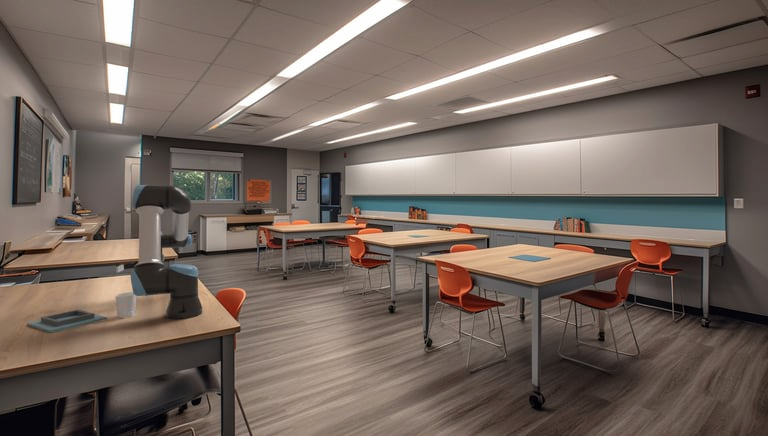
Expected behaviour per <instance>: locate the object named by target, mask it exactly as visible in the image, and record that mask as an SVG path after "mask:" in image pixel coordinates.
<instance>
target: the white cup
mask: <svg viewBox="0 0 768 436" xmlns="http://www.w3.org/2000/svg"><path fill="white" fill-rule="evenodd" d="M136 305H137V296H136V295H134V293H133V291H132V292H122V293H117V294H115V307H116V317H117V318H118V319H124V318H125V319H126V318H130V317H134V316H135V315H136V308H137V307H136Z"/></svg>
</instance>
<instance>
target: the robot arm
mask: <svg viewBox="0 0 768 436" xmlns="http://www.w3.org/2000/svg"><path fill="white" fill-rule="evenodd" d="M131 204H132V205H131V206H132V209H134V210H135V212H136V213H137V214H138V215H139V226H138V227H139V229H138V261H129V262H124V263H118V264H116V265H115V266H116V267H115V269H116V270H115V271H116V272H115V273H116V274H117V273H120V272H122V271H124V270H128V269H130V273H129V274H130V275H129V276H130V283H131V289H132V292H133V293H134V295H136V297H148V296H157V295H158V296H159V295H166V294H168V295H169V300H168V301H169V302H168V304H167V308H166V310H165V317H166V318H167V319H171V320H172V319H174V320H175V319H176V320H177V319H180V320H181V319H187V318H188V317H189V318H193V317H192V316H194V317H196V315H197V316H199V315H198V314H200V313H201V314H202V313H203V306H202V303H201V301H200V297H199V280H198V279H199V270H198V269H199V268H198V267H197V266H195V265H193V264H185V263H184V264H183V263H174V264H170V265H169V266H168V267H165V264H164V261H165V255H164V253H163V249H169V248H171V249H172V248H174V249H177V248H189V247H191V246H192V235H191V234H189V217H190V216H189V215H190V211H191V210H192V200H191V199H190V196H189V195H188V194H187V193H186V191H185V190H183V189H182V188H180V187H178V186H174V185H161V184H159V185H158V184H157V185H156V184H138V185H136V186H135V187H134V190H133V193H132V203H131ZM165 210H171V212H172V234H164V233H163V232H162V229H161V226H162V225H161V223H162V222H161V219H162V218H161V217H162V216H161V215H163V214H164V213H165ZM131 269H132V270H131ZM201 314H200V315H201Z"/></svg>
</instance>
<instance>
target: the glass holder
mask: <svg viewBox="0 0 768 436" xmlns="http://www.w3.org/2000/svg"><path fill="white" fill-rule="evenodd" d="M106 320H108V317H107V316H104V315H100V314H96V313H94V312H89V311H87V310H82V309H81V310H80V309H75V310H74V309H73V310H70V311H64V312H59V313H55V314H49V315H46V316H41V317H40V320H34V321H31V322H27V323H26V326H28V325H29V326H28V327H31V326H32V327H31V328H34V327H35V329H37V328H38V329H37V330H41V331H45V332H48V333H51V334H52V333H56V332H61V331H64V330H68V329H73V328H76V327H77V328H78V327H81V326H84V325H89V324H93V323H97V322H101V321H106Z"/></svg>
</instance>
